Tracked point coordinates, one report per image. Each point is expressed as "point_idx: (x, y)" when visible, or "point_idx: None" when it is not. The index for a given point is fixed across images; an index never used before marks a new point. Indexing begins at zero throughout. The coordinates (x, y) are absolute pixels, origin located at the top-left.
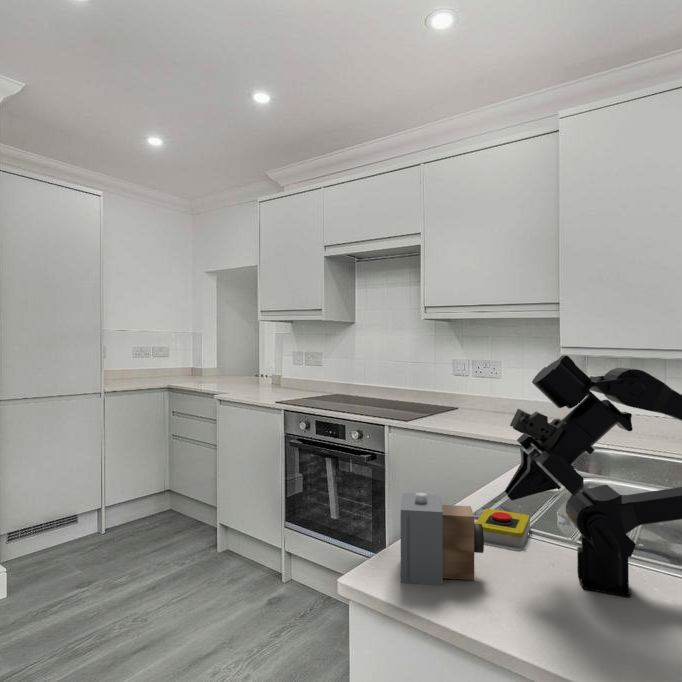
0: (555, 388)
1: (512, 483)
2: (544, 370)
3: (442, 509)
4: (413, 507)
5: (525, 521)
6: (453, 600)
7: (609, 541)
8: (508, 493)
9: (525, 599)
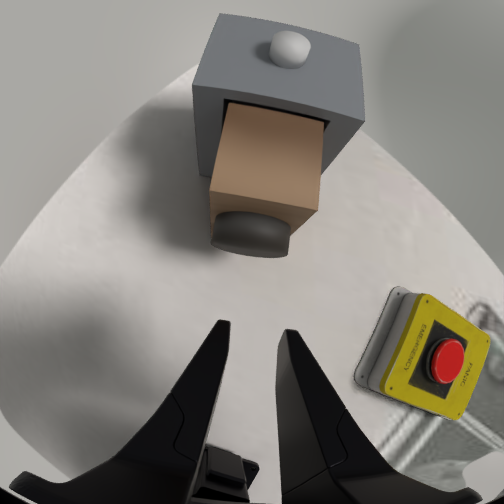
0: None
1: (291, 371)
2: None
3: (278, 114)
4: (236, 34)
5: (436, 409)
6: (147, 183)
7: None
8: (221, 325)
9: (144, 318)
